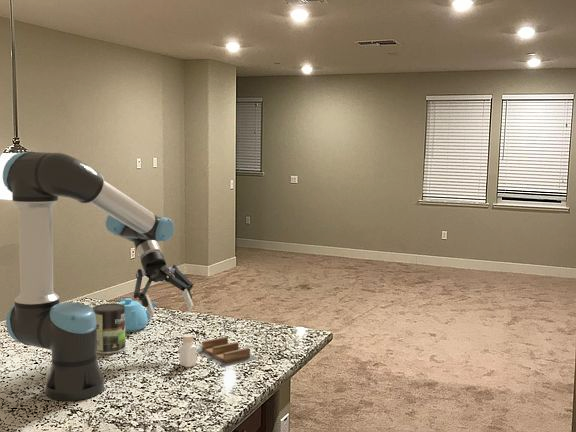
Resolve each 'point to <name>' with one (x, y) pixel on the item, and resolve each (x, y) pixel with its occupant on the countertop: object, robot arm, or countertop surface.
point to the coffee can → (110, 328)
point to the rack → (225, 350)
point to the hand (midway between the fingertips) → (172, 311)
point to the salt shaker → (188, 351)
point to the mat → (223, 362)
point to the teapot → (135, 315)
